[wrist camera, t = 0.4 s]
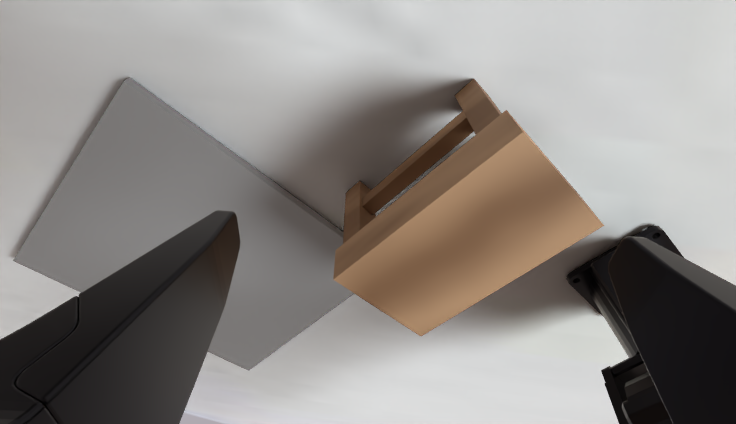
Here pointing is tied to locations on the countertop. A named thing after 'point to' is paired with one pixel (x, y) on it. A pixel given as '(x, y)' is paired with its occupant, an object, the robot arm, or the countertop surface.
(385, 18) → the countertop surface
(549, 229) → the stool
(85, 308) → the robot arm
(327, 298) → the mat
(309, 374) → the countertop surface
